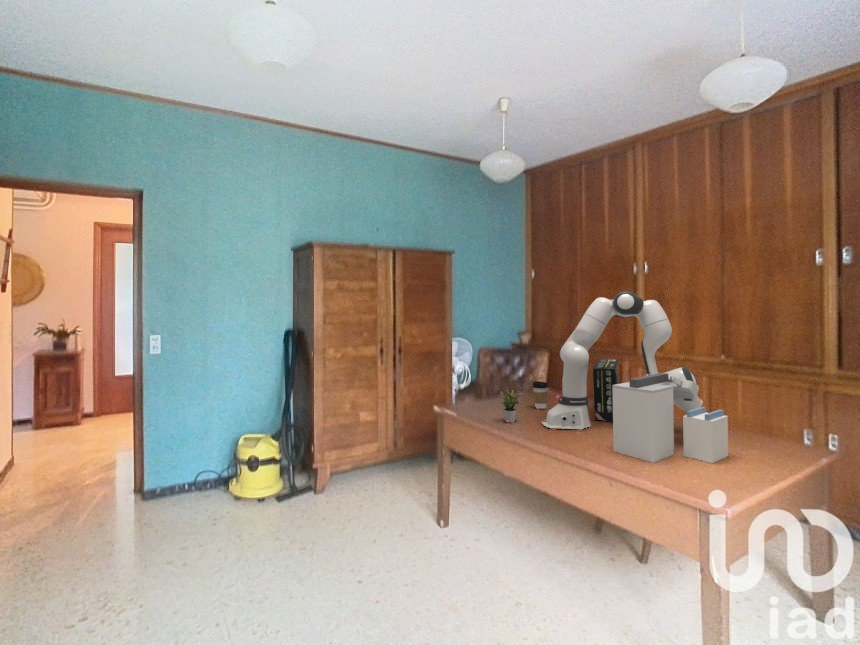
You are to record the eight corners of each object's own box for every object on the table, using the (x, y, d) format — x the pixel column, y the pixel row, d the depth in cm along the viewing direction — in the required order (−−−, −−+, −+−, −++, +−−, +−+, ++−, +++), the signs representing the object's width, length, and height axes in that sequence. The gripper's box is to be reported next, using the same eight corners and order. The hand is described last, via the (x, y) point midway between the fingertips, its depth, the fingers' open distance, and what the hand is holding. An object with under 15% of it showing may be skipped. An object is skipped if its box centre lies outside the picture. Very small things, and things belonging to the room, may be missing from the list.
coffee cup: (534, 407, 255) (533, 380, 254) (549, 407, 252) (548, 381, 251) (531, 410, 247) (531, 383, 246) (547, 411, 244) (547, 383, 243)
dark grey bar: (661, 380, 181) (660, 372, 181) (668, 381, 179) (668, 373, 179) (629, 387, 169) (629, 379, 169) (637, 388, 166) (636, 380, 166)
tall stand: (634, 444, 182) (633, 380, 181) (674, 454, 169) (673, 386, 168) (613, 451, 174) (612, 385, 174) (653, 462, 161) (652, 390, 160)
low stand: (699, 449, 174) (698, 406, 173) (728, 456, 166) (727, 410, 165) (683, 456, 167) (683, 410, 167) (712, 463, 159) (712, 415, 158)
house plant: (529, 425, 215) (528, 392, 215) (500, 426, 216) (499, 392, 215) (523, 418, 230) (522, 386, 229) (496, 419, 230) (495, 387, 229)
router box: (598, 406, 253) (597, 358, 252) (619, 407, 248) (618, 359, 247) (593, 421, 220) (592, 367, 219) (617, 423, 216) (616, 367, 215)
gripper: (653, 380, 194) (637, 367, 187) (703, 386, 177) (687, 372, 170) (649, 394, 193) (632, 381, 186) (699, 401, 176) (683, 387, 169)
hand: (659, 377), depth 178 cm, fingers open, 8 cm apart
